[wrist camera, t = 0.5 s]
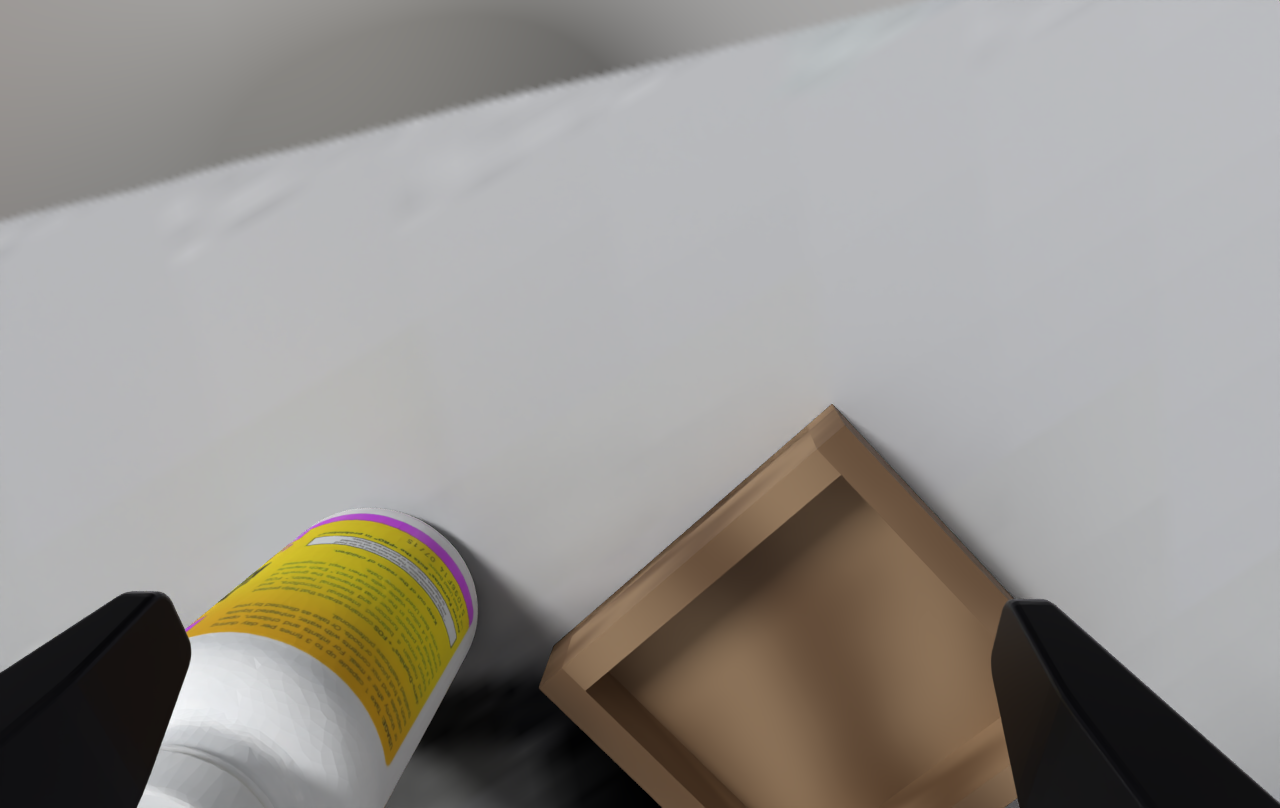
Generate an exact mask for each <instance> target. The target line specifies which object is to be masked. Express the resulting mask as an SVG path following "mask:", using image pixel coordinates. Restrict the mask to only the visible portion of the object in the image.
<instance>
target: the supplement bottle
mask: <svg viewBox="0 0 1280 808" xmlns="http://www.w3.org/2000/svg"><path fill="white" fill-rule="evenodd" d="M477 618H478V603H477V595H476V590H475V586H474V582H473V579H472V577H471V574H470V572H469V570H468V568H467V566H466V564H465V562H464V560H463V559H462V557H461V556H460V554H459V553H458V551H457V550H456V549H455V548H454V546H453V545H452V544H451V543H450V542H449V541H448V540H447V539H446V538H445V537H444V536H443V535H441V534H440V533H439V532H438V531H436V530H435V529H434V528H432V527H431V526H430V525H428V524H426V523H425V522H423V521H421V520H419V519H417V518H415V517H413V516H410V515H407V514H404V513H401V512H398V511H393V510H388V509H381V508H358V509H351V510H346V511H342V512H339V513H336V514H333V515H331V516H328V517H326V518H324V519H322V520H321V521H319V522H317V523H316V524H314V525H313V526H311V527H310V528H308V529H307V530H306V531H305V532H303V533H302V534H301V535H299V536H298V537H297V538H296V539H294V540H293V541H292V542H291V543H290V544H288V545H287V546H286V547H285V548H283V549H282V550H281V551H280V552H279V553H277V554H276V555H275V556H274V557H272V558H271V559H270V560H269V561H267V562H266V563H265V564H264V565H263V566H262V567H260V568H259V569H258V570H257V571H256V572H254V573H253V574H252V575H250V576H249V577H248V578H247V579H246V580H245V581H244V582H242V583H241V584H240V585H239V586H237V587H236V588H235V589H234V590H232V591H231V592H230V593H229V594H227V595H226V596H225V597H224V598H223V599H221V600H220V601H219V602H218V603H217V604H216V605H214V606H213V607H212V608H211V609H210V610H208V611H207V612H206V613H205V614H203V615H202V616H201V617H200V618H199V619H197V620H196V621H195V622H194V623H192V624H191V625H190V626H189V627H187V628H186V629H185V631H186V633H187V635H188V638H189V640H190V643H191V661H190V665H189V668H188V671H187V674H186V677H185V679H184V682H183V685H182V688H181V691H180V694H179V696H178V699H177V702H176V705H175V708H174V710H173V713H172V716H171V719H170V722H169V724H168V727H167V730H166V733H165V736H164V739H163V741H162V744H161V747H160V750H159V753H158V755H157V758H156V761H155V764H154V767H153V769H152V772H151V775H150V777H149V780H148V782H147V785H146V788H145V790H144V793H143V795H142V797H141V800H140V802H139V804H138V806H137V808H384V807H385V805H386V803H387V801H388V799H389V797H390V796H391V794H392V792H393V790H394V788H395V786H396V784H397V782H398V780H399V779H400V777H401V775H402V773H403V771H404V769H405V767H406V766H407V764H408V762H409V760H410V758H411V757H412V755H413V753H414V751H415V749H416V748H417V746H418V744H419V742H420V740H421V738H422V737H423V735H424V733H425V731H426V729H427V727H428V725H429V724H430V722H431V720H432V718H433V716H434V714H435V713H436V711H437V709H438V707H439V705H440V703H441V702H442V700H443V698H444V696H445V694H446V692H447V690H448V689H449V687H450V685H451V683H452V681H453V679H454V678H455V676H456V674H457V672H458V670H459V668H460V666H461V664H462V662H463V660H464V659H465V657H466V655H467V653H468V651H469V649H470V646H471V644H472V642H473V639H474V636H475V632H476V627H477Z"/></svg>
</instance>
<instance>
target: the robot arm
mask: <svg viewBox="0 0 1280 808" xmlns="http://www.w3.org/2000/svg"><path fill="white" fill-rule="evenodd" d="M190 661H191V643H190V640H189V638H188V635H187V633H186V631H185V629H184V627H183V625H182V622H181V620H180V618H179V616H178V614H177V612H176V609H175V607H174V605H173V603H172V601H171V599H170V598H169V597H168V596H167V595H166V594H164V593H162V592H154V591H131V592H126V593H123V594H121V595H119V596H118V597H116V598H115V599H113V600H112V601H110V602H108V603H107V604H105V605H104V606H102V607H101V608H99V609H98V610H96V611H95V612H93V613H92V614H90V615H88V616H87V617H85V618H84V619H82V620H81V621H79V622H78V623H76V624H75V625H73V626H72V627H70V628H69V629H67V630H65V631H64V632H62V633H61V634H59V635H58V636H56V637H55V638H53V639H52V640H50V641H49V642H47V643H45V644H44V645H42V646H41V647H39V648H38V649H36V650H35V651H33V652H32V653H30V654H29V655H27V656H26V657H24V658H22V659H21V660H19V661H18V662H16V663H15V664H13V665H12V666H10V667H9V668H7V669H6V670H4V671H2V672H1V673H0V808H137V806H138V804H139V802H140V800H141V797H142V795H143V793H144V790H145V788H146V785H147V782H148V780H149V777H150V775H151V772H152V769H153V767H154V764H155V761H156V758H157V755H158V753H159V750H160V747H161V744H162V741H163V739H164V736H165V733H166V730H167V727H168V724H169V722H170V719H171V716H172V713H173V710H174V708H175V705H176V702H177V699H178V696H179V694H180V691H181V688H182V685H183V682H184V679H185V677H186V674H187V671H188V668H189V665H190ZM991 672H992V678H993V683H994V688H995V693H996V698H997V702H998V707H999V712H1000V717H1001V722H1002V726H1003V731H1004V736H1005V741H1006V746H1007V750H1008V755H1009V760H1010V765H1011V770H1012V774H1013V779H1014V784H1015V789H1016V793H1017V798H1018V802H1019V807H1020V808H1280V803H1279V802H1278V801H1277V800H1275V799H1274V798H1273V797H1272V796H1271V795H1270V794H1269V793H1268V792H1266V791H1265V790H1264V789H1263V788H1262V787H1261V786H1260V785H1258V784H1257V783H1256V782H1255V781H1254V780H1253V779H1252V778H1251V777H1249V776H1248V775H1247V774H1246V773H1245V772H1244V771H1243V770H1242V769H1240V768H1239V767H1238V766H1237V765H1236V764H1235V763H1234V762H1232V761H1231V760H1230V759H1229V758H1228V757H1227V756H1226V755H1225V754H1223V753H1222V752H1221V751H1220V750H1219V749H1218V748H1217V747H1215V746H1214V745H1213V744H1212V743H1211V742H1210V741H1209V740H1208V739H1206V738H1205V737H1204V736H1203V735H1202V734H1201V733H1200V732H1198V731H1197V730H1196V729H1195V728H1194V727H1193V726H1192V725H1191V724H1189V723H1188V722H1187V721H1186V720H1185V719H1184V718H1183V717H1182V716H1180V715H1179V714H1178V713H1177V712H1176V711H1175V710H1174V709H1172V708H1171V707H1170V706H1169V705H1168V704H1167V703H1166V702H1165V701H1163V700H1162V699H1161V698H1160V697H1159V696H1158V695H1157V694H1155V693H1154V692H1153V691H1152V690H1151V689H1150V688H1149V687H1148V686H1146V685H1145V684H1144V683H1143V682H1142V681H1141V680H1140V679H1138V678H1137V677H1136V676H1135V675H1134V674H1133V673H1132V672H1131V671H1129V670H1128V669H1127V668H1126V667H1125V666H1124V665H1123V664H1122V663H1120V662H1119V661H1118V660H1117V659H1116V658H1115V657H1114V656H1112V655H1111V654H1110V653H1109V652H1108V651H1107V650H1106V649H1105V648H1103V647H1102V646H1101V645H1100V644H1099V643H1098V642H1097V641H1095V640H1094V639H1093V638H1092V637H1091V636H1090V635H1089V634H1088V633H1086V632H1085V631H1084V630H1083V629H1082V628H1081V627H1080V626H1078V625H1077V624H1076V623H1075V622H1074V621H1073V620H1072V619H1071V618H1069V617H1068V616H1067V615H1066V614H1065V613H1064V612H1063V611H1062V610H1060V609H1059V608H1058V607H1057V606H1056V605H1054V604H1053V603H1051V602H1050V601H1048V600H1044V599H1011V600H1009V601H1007V602H1006V603H1005V605H1004V607H1003V609H1002V613H1001V617H1000V621H999V625H998V629H997V633H996V637H995V641H994V645H993V649H992V654H991Z"/></svg>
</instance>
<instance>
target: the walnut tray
mask: <svg viewBox="0 0 1280 808" xmlns="http://www.w3.org/2000/svg"><path fill="white" fill-rule="evenodd" d="M1011 599H1014V598H1013V597H1012V596H1011V595H1010V594H1009V593H1008V592H1007V591H1006V590H1005V589H1004V587H1003V586H1002V585H1001V584H1000V583H999V582H998V581H997V580H996V579H995V578H994V577H993V576H992V575H991V574H990V572H989V571H988V570H987V569H986V568H985V567H984V566H983V565H982V564H981V563H980V562H979V561H978V560H977V559H976V557H975V556H974V555H973V554H972V553H971V552H970V551H969V550H968V549H967V548H966V547H965V546H964V545H963V544H962V543H961V541H960V540H959V539H958V538H957V537H956V536H955V535H954V534H953V533H952V532H951V531H950V530H949V529H948V528H947V526H946V525H945V524H944V523H943V522H942V521H941V520H940V519H939V518H938V517H937V516H936V515H935V514H934V513H933V511H932V510H931V509H930V508H929V507H928V506H927V505H926V504H925V503H924V502H923V501H922V500H921V499H920V498H919V496H918V495H917V494H916V493H915V492H914V491H913V490H912V489H911V488H910V487H909V486H908V485H907V484H906V483H905V482H904V480H903V479H902V478H901V477H900V476H899V475H898V474H897V473H896V472H895V471H894V470H893V469H892V468H891V467H890V465H889V464H888V463H887V462H886V461H885V460H884V459H883V458H882V457H881V456H880V455H879V454H878V453H877V452H876V450H875V449H874V448H873V447H872V446H871V445H870V444H869V443H868V442H867V441H866V440H865V439H864V438H863V437H862V436H861V434H860V433H859V432H858V431H857V430H856V429H855V428H854V427H853V426H852V425H851V424H850V423H849V422H848V421H847V419H846V418H845V417H844V416H843V415H842V414H841V413H840V412H839V411H838V410H837V409H836V408H835V407H834V406H833V404H831V405H830V406H829V407H828V408H827V409H826V410H824V411H823V412H822V413H821V414H820V415H819V416H818V417H816V418H815V419H814V420H813V421H812V422H811V423H810V424H808V425H807V426H806V427H805V428H804V429H803V430H801V431H800V432H799V433H798V434H797V435H796V436H795V437H793V438H792V439H791V440H790V441H789V442H788V443H786V444H785V445H784V446H783V447H782V448H781V449H780V450H778V451H777V452H776V453H775V454H774V455H773V456H772V457H770V458H769V459H768V460H767V461H766V462H765V463H763V464H762V465H761V466H760V467H759V468H758V469H757V470H755V471H754V472H753V473H752V474H751V475H750V476H749V477H747V478H746V479H745V480H744V481H743V482H742V483H740V484H739V485H738V486H737V487H736V488H735V489H734V490H732V491H731V492H730V493H729V494H728V495H727V496H725V497H724V498H723V499H722V500H721V501H720V502H719V503H717V504H716V505H715V506H714V507H713V508H712V509H711V510H709V511H708V512H707V513H706V514H705V515H704V516H702V517H701V518H700V519H699V520H698V521H697V522H696V523H694V524H693V525H692V526H691V527H690V528H689V529H687V530H686V531H685V532H684V533H683V534H682V535H681V536H679V537H678V538H677V539H676V540H675V541H674V542H673V543H671V544H670V545H669V546H668V547H667V548H666V549H664V550H663V551H662V552H661V553H660V554H659V555H658V556H656V557H655V558H654V559H653V560H652V561H651V562H650V563H648V564H647V565H646V566H645V567H644V568H643V569H641V570H640V571H639V572H638V573H637V574H636V575H635V576H633V577H632V578H631V579H630V580H629V581H628V582H626V583H625V584H624V585H623V586H622V587H621V588H620V589H618V590H617V591H616V592H615V593H614V594H613V595H612V596H610V597H609V598H608V599H607V600H606V601H605V602H603V603H602V604H601V605H600V606H599V607H598V608H597V609H595V610H594V611H593V612H592V613H591V614H590V615H588V616H587V617H586V618H585V619H584V620H583V621H582V622H580V623H579V624H578V625H577V626H576V627H575V628H574V629H572V630H571V631H570V632H569V633H568V634H567V635H565V636H564V637H563V638H562V639H561V640H560V641H559V642H557V643H556V644H555V645H554V646H553V649H552V652H551V655H550V657H549V660H548V663H547V666H546V669H545V671H544V674H543V677H542V680H541V683H540V686H539V689H540V690H541V691H542V692H543V693H544V694H545V695H546V696H547V697H548V698H549V699H550V700H551V701H552V702H554V703H555V704H556V705H557V706H558V707H559V708H560V709H561V710H562V711H563V712H564V713H565V714H566V715H567V716H568V717H569V718H570V719H571V720H572V721H573V722H574V723H575V724H576V725H577V726H578V727H579V728H580V729H581V730H583V731H584V732H585V733H586V734H587V735H588V736H589V737H590V738H591V739H592V740H593V741H594V742H595V743H596V744H597V745H598V746H599V747H600V748H601V749H602V750H603V751H604V752H605V753H606V754H607V755H608V756H609V757H610V758H611V759H613V760H614V761H615V762H616V763H617V764H618V765H619V766H620V767H621V768H622V769H623V770H624V771H625V772H626V773H627V774H628V775H629V776H630V777H631V778H632V779H633V780H634V781H635V782H636V783H637V784H638V785H639V786H640V787H642V788H643V789H644V790H645V791H646V792H647V793H648V794H649V795H650V796H651V797H652V798H653V799H654V800H655V801H656V802H657V803H658V804H659V805H660V806H661V807H662V808H1004V807H1006V806H1007V805H1008V804H1010V803H1011V802H1013V801H1014V800H1015V799H1017V793H1016V789H1015V784H1014V779H1013V774H1012V770H1011V765H1010V760H1009V755H1008V750H1007V746H1006V741H1005V736H1004V731H1003V726H1002V722H1001V717H1000V712H999V707H998V702H997V698H996V693H995V688H994V683H993V678H992V672H991V654H992V649H993V645H994V641H995V637H996V633H997V629H998V625H999V621H1000V617H1001V613H1002V609H1003V607H1004V605H1005V603H1006V602H1007V601H1009V600H1011Z"/></svg>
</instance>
